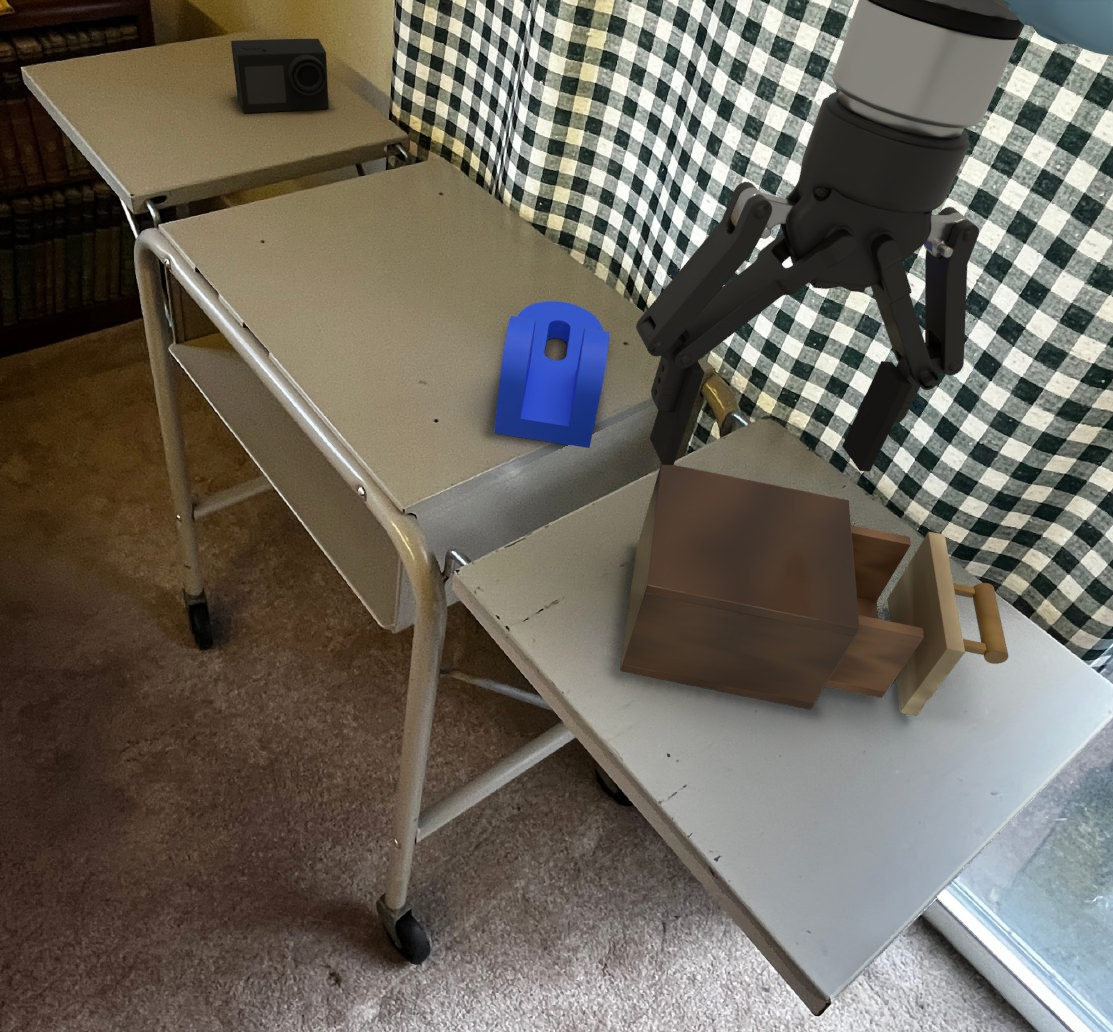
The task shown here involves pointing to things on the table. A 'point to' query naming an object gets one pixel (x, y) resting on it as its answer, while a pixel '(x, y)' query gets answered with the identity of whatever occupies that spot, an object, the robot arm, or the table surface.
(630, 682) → the table surface
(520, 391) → the bracket
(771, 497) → the cabinet
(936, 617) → the drawer
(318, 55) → the digital camera
